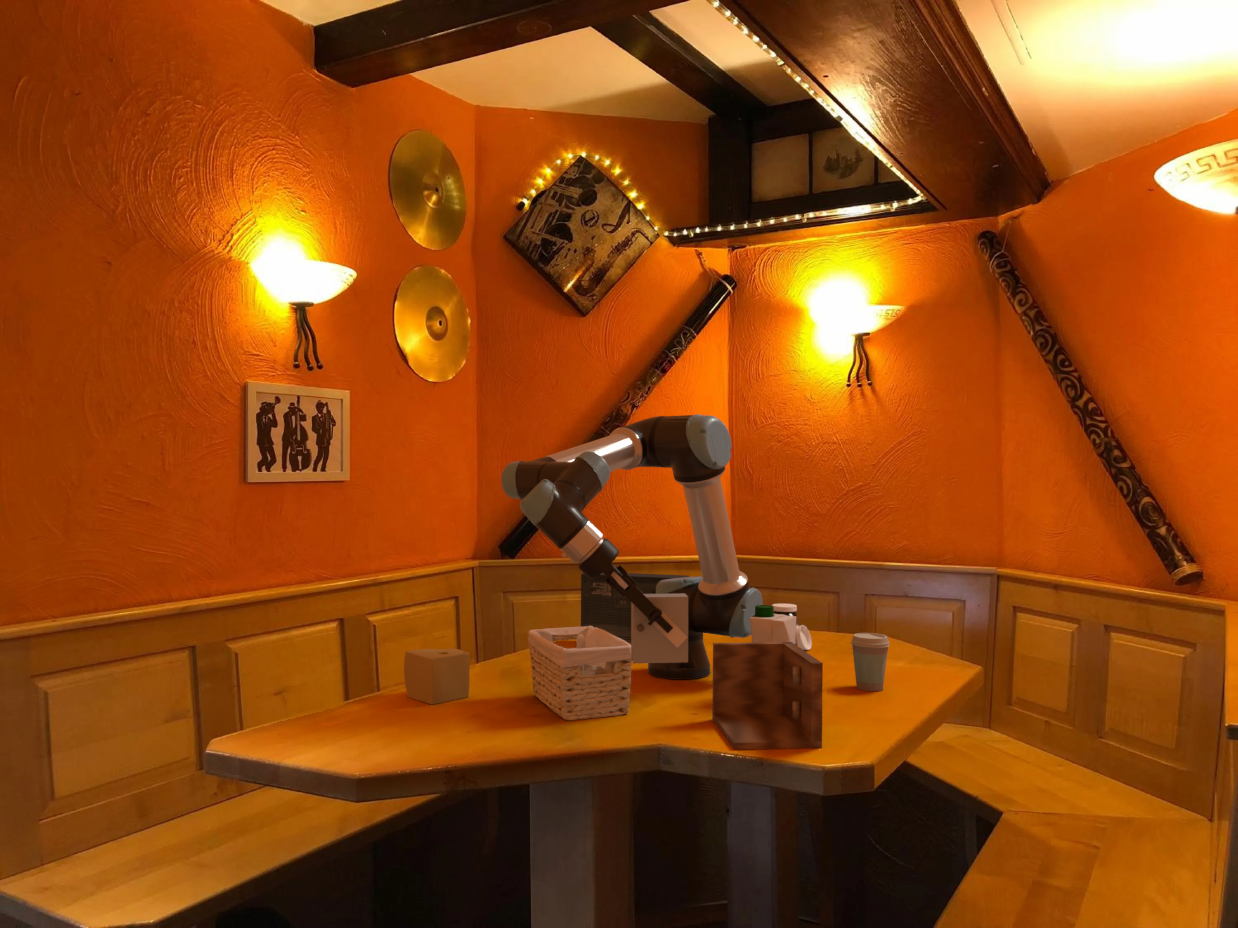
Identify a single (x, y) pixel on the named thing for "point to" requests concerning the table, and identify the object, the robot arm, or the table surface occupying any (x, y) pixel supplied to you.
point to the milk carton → (772, 626)
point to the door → (650, 640)
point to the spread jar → (801, 631)
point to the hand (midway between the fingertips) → (679, 639)
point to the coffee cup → (870, 660)
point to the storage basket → (581, 672)
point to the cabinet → (767, 695)
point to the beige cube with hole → (437, 675)
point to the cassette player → (613, 602)
